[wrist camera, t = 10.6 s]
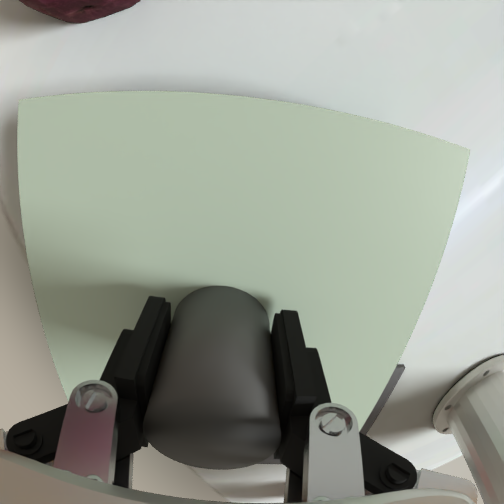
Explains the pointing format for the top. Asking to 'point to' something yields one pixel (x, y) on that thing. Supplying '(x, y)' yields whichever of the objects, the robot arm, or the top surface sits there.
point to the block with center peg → (230, 248)
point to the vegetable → (79, 8)
